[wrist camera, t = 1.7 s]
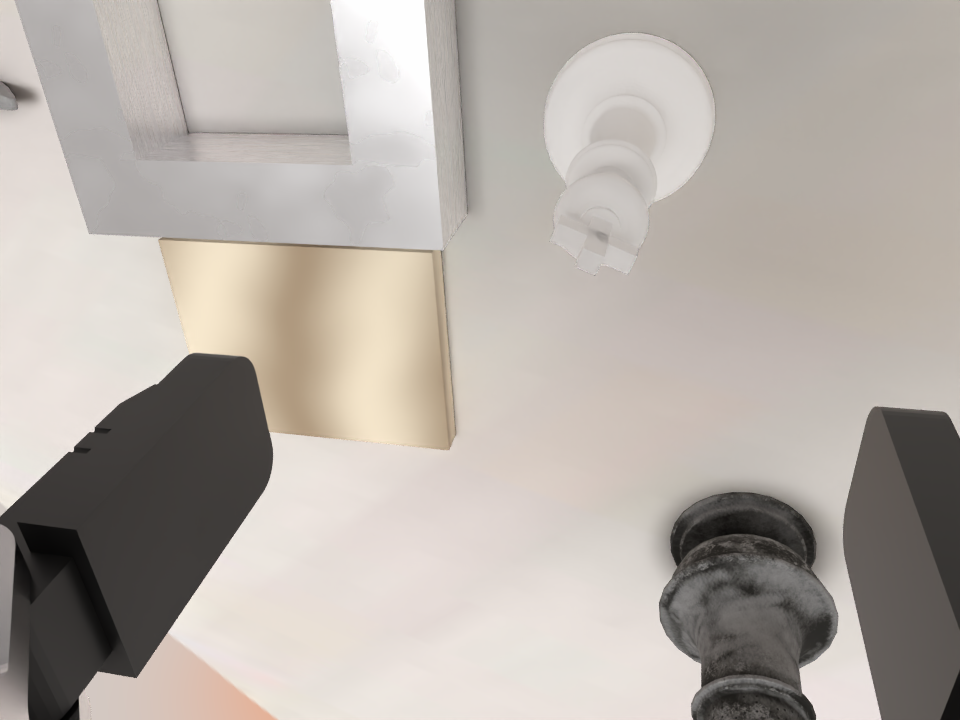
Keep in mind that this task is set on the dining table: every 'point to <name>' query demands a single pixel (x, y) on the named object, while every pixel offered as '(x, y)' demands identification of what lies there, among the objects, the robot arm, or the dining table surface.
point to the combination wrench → (7, 98)
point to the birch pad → (325, 333)
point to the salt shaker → (747, 606)
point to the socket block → (258, 157)
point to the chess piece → (623, 142)
